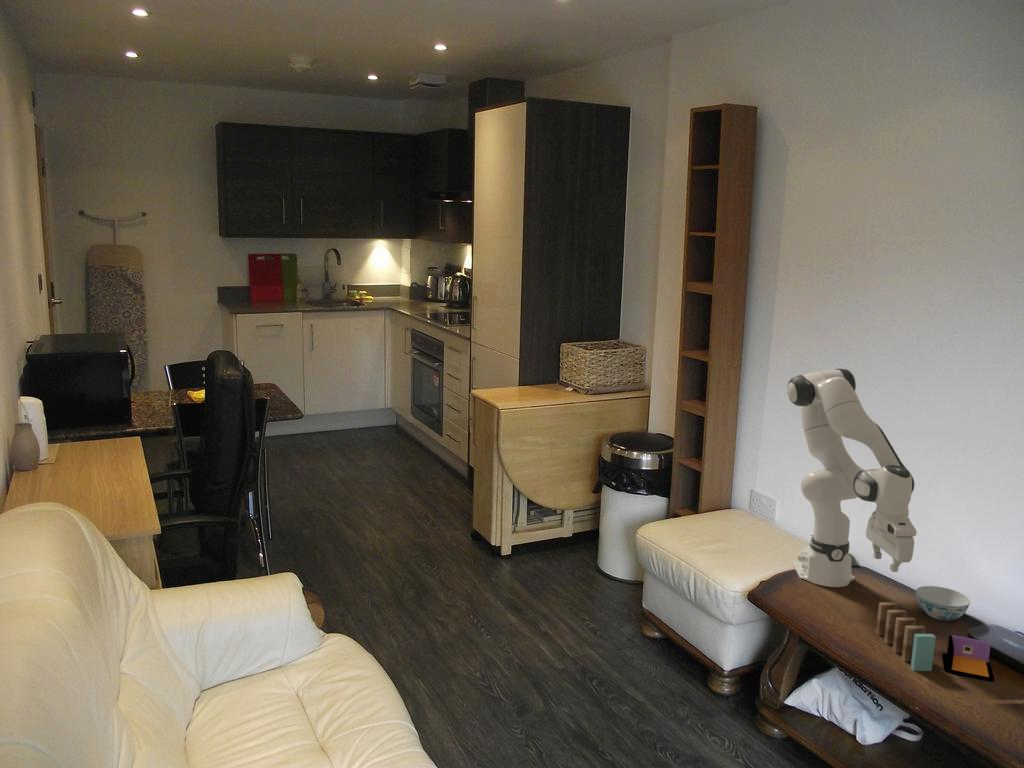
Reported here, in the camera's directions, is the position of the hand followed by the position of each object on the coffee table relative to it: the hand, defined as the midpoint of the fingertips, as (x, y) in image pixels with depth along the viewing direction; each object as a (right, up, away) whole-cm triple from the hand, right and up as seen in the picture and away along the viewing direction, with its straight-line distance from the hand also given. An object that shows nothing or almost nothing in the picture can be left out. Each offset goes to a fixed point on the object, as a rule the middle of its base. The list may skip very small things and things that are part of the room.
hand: (885, 564), depth 248 cm
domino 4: (0, -23, -16) cm, 28 cm away
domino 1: (-1, -21, -1) cm, 21 cm away
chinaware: (+22, -20, +11) cm, 31 cm away
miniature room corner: (+14, -25, -19) cm, 34 cm away
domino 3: (0, -22, -11) cm, 25 cm away
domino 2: (0, -22, -6) cm, 23 cm away
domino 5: (0, -24, -21) cm, 32 cm away
